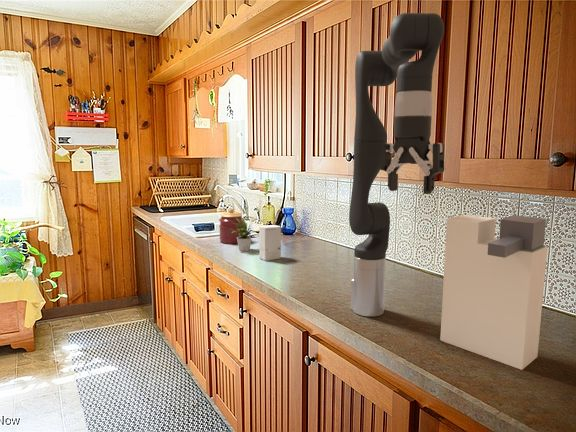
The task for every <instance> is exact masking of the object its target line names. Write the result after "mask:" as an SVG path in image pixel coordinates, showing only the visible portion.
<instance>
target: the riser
mask: <svg viewBox="0 0 576 432" xmlns="http://www.w3.org/2000/svg"><path fill="white" fill-rule="evenodd" d="M496 220H497V218H496V217H495V218H493V217H487V216H480V215H479V216H478V215H470V214H462V215H458V216H453V217H449V218H446V228H445V229H446V230H445V243H444V245H445V247H444V264H443V265H444V266H443V281H442V282H443V283H442V304H441V320H440V323H441V324H440V335H439V337H440V339H439V340H440V341H441V342H444V343H446V344H449V345H452V346H455V347H457V348H461V349H463V350H466V351H468V352H471V353H474V354H477V355H479V356H482V357H486V358H488V359H490V360H494V361H497V362H499V363H501V364H505V365H507V366H510V367H513V368H516V369H519V370H521V371H522V370H524V369H525V368H526V367H527V366H528V365H529V364H531V363H533V361H534V360H535V359H536V360H537V358H538V356H539V355H538V353H539V342H540V330H541V320H542V310H543V299H544V288H545V280H546V266H547V257H548V256H547V255H548V245H547V246H546V245H545V244H544V245H542V246H540V247H538V248H536V249H534V250H526V249H522V250H520V251H518V252H516V253H514V254H512V255H510V256H507V257H505V258H503V257H497V256H492V255H488V243H490V242H493V241H495V240H498V239H499V238H496V237H495V235H496V234H495V233H496V222H497V221H496Z"/></svg>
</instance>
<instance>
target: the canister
mask: <svg viewBox="0 0 576 432" xmlns="http://www.w3.org/2000/svg"><path fill="white" fill-rule="evenodd" d="M242 216H243V214H242V213H240V212H239V211H235V210H234V208H229V209H228V211H225V212H222V214H220V217H221V218H219V219H218V221H219V227H218V228H219V243H223V244H228V245H229V244H234V245H235V244H238V241H237V237H240V236H241V235H239V233H240V232H239V230H237V229H239V227H238V226H237V225H236V224H238V225H239V222H238V220H239V221H240V223H241V219H243V220H244V221H245V219H244V218H243V217H242ZM236 218H237V219H238V220H237V219H236ZM232 221H233V222H232ZM234 222H235V223H236V224H235V223H234ZM233 223H234V224H233ZM241 226H242V225H241ZM237 227H238V228H237ZM233 230H234V231H238V232H233ZM232 232H233V233H232Z"/></svg>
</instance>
